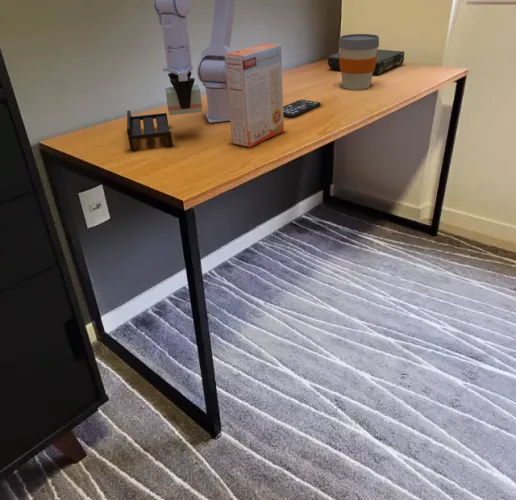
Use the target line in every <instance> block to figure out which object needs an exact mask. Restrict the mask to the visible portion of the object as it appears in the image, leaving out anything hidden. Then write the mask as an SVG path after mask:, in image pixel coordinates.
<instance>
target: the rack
mask: <svg viewBox="0 0 516 500" xmlns="http://www.w3.org/2000/svg"><path fill="white" fill-rule="evenodd" d="M126 114H127V115H126V132H127V136H128V137H127V138H128V142H129V148H130V152H135V146H134V141H135V140H136V141H137V140H145V139H155V138H163V137H167V140H168V147H169V148H172V147H174V144H173V138H172V131H171V130H170V129H169V127H170V126H169V121H168V115H167V112H163V113H154V114H153V113H152V114H144V115H133V116H132V112H131V110H126ZM154 120H155V121H154ZM141 122H142V124H141ZM155 123H156V128H157V131H156V129H155ZM142 125H143V133H142Z"/></svg>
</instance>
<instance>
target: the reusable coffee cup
mask: <svg viewBox="0 0 516 500" xmlns="http://www.w3.org/2000/svg"><path fill="white" fill-rule="evenodd" d="M379 47H380V36H379V35H377V34H370V33H352V34H351V33H350V34H345V35H341V36H340V37H339V41H338V48H339V53H340V56H339V63H340V71H339V72H341V85H342V88H344V89H347V90H356V91H357V90H366V89H368V88H370V87H371V83H372V78H373V75H372V74H373V71H374V70H375V65H376V60H377V55H376V54H377V49H378V48H379Z"/></svg>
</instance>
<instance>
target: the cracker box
mask: <svg viewBox="0 0 516 500" xmlns="http://www.w3.org/2000/svg"><path fill="white" fill-rule="evenodd" d="M224 56H225V67H226V78H227V89H228V100H229V111H230V121H229V122H230V131H231V142H232V145H236V146H241V147H245V148H252V147H253V146H254V147H255V146H256V145H258V144H260V143H262V142H264V141H266V140H268V139H270V138H272V137H274V136H277V135H279V134H280V133H283V132H284V131H285V129H284V124H285V123H284V116H283V107H284V97H283V96H284V94H283V64H282V63H283V62H282V59H283V58H282V44H279V43H278V44H276V43H275V44H274V43H266V42H265V43H264V42H263V43H259V44H256V45H252V46H249V47H245V48H242V49H241V48H240V49H238V50H234V51H233V52H230V53H226V54H225V55H224Z"/></svg>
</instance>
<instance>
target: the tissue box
mask: <svg viewBox="0 0 516 500" xmlns="http://www.w3.org/2000/svg"><path fill="white" fill-rule="evenodd" d="M164 91H165V96H166V105H167V111H168V115H169V116H177V115H187V114H195V113H196V114H197V113H202V112H203V104H202V95H201V89H200V86H199V85H198V84H193V87H192V91H191V104H190V108H187V109H181V107H180V104H179V100H178V97H177V93H176V91H175V89H174V87H173V86H169V87H165V89H164Z"/></svg>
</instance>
